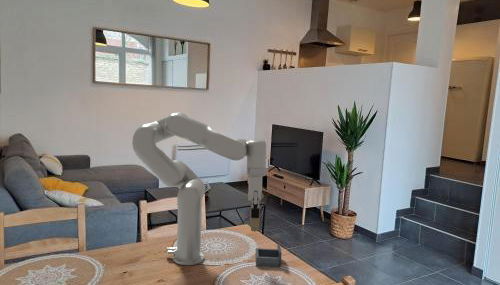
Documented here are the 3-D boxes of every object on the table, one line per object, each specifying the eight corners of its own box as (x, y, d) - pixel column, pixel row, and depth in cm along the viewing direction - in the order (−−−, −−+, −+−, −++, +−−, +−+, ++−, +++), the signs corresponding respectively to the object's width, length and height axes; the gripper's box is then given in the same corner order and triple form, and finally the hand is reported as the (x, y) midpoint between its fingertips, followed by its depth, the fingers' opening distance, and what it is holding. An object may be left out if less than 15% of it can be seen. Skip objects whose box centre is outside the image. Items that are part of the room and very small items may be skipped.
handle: (262, 233, 140) (263, 196, 139) (246, 232, 141) (247, 195, 139) (262, 228, 145) (263, 193, 143) (247, 228, 146) (247, 192, 144)
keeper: (255, 265, 142) (256, 251, 141) (255, 256, 150) (256, 242, 150) (280, 267, 142) (281, 252, 141) (278, 257, 151) (279, 243, 150)
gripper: (246, 167, 148) (246, 209, 151) (246, 175, 132) (245, 222, 134) (264, 167, 148) (263, 209, 151) (266, 175, 132) (265, 223, 134)
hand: (255, 215), depth 142 cm, fingers closed on handle, 3 cm apart
